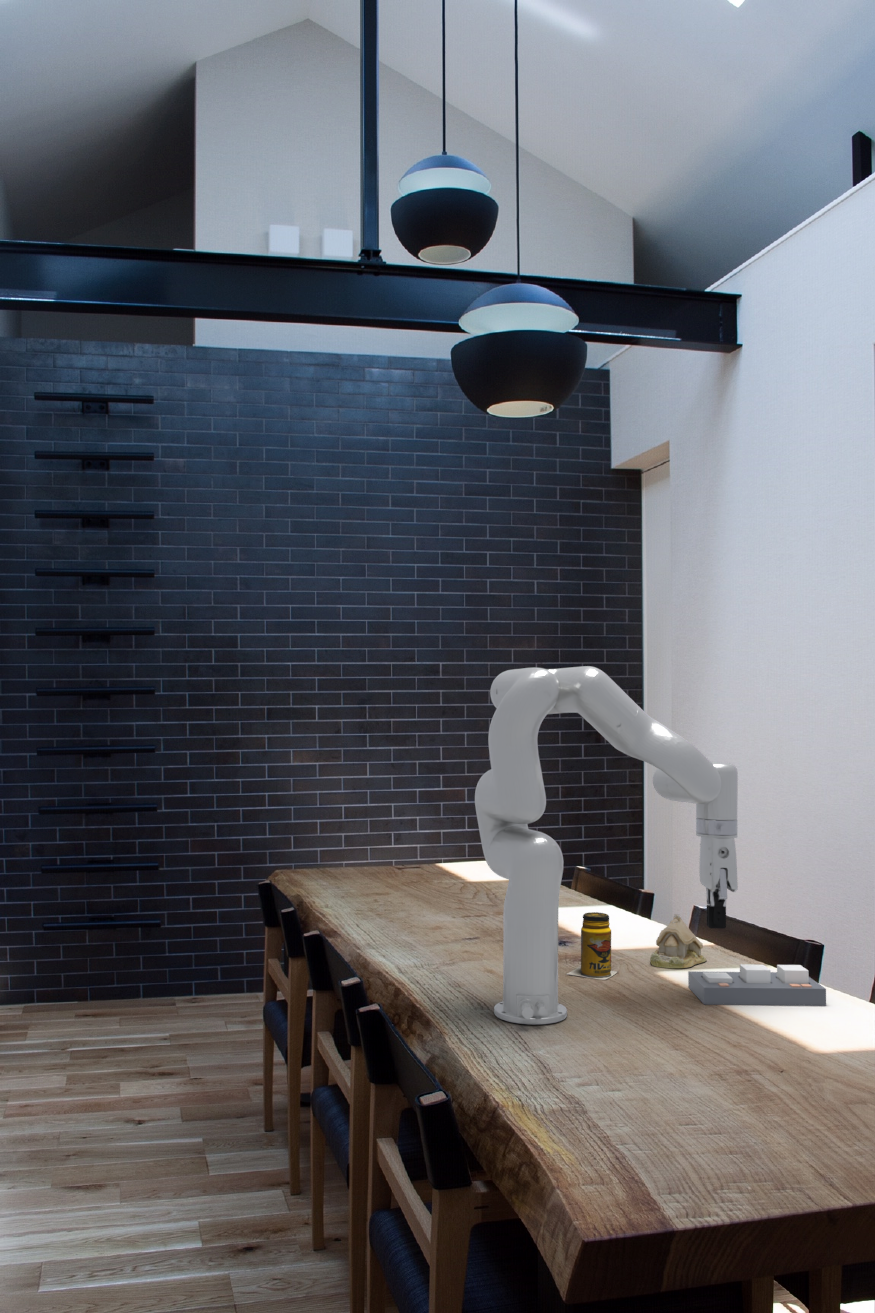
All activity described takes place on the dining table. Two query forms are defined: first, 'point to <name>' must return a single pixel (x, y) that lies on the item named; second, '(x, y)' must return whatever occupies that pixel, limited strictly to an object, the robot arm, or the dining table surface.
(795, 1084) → the dining table surface
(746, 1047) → the dining table surface
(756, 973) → the key
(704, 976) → the key
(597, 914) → the condiment
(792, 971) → the key
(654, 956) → the ceramic model
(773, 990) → the keypad
